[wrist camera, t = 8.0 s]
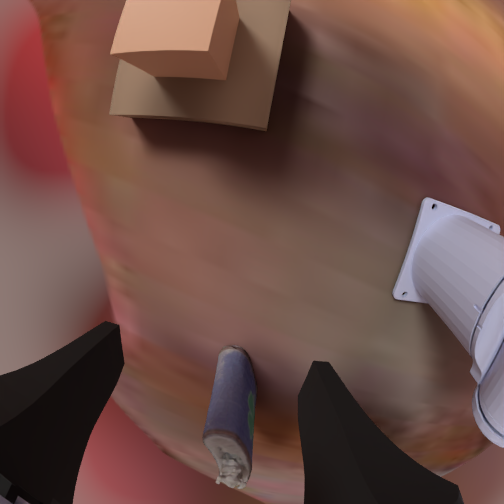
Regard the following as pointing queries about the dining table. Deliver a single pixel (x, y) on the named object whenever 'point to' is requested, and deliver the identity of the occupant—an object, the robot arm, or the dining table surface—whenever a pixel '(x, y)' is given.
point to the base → (211, 90)
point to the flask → (232, 417)
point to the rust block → (178, 37)
